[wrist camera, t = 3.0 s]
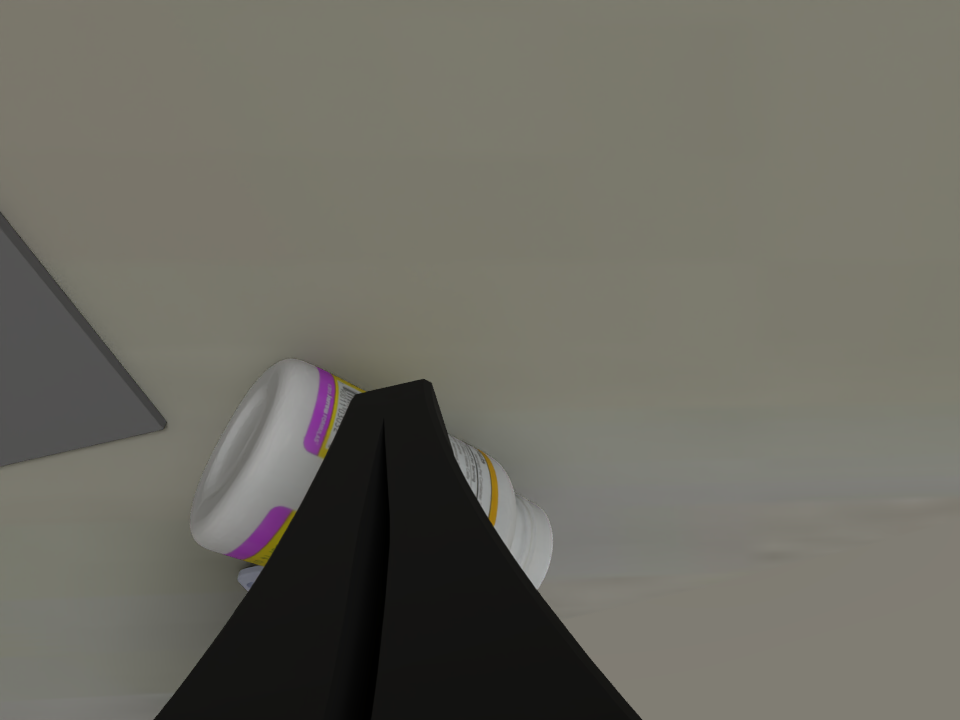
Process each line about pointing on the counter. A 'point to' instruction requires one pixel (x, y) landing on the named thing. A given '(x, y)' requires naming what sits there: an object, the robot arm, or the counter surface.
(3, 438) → the mat
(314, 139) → the counter surface
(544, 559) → the supplement bottle
